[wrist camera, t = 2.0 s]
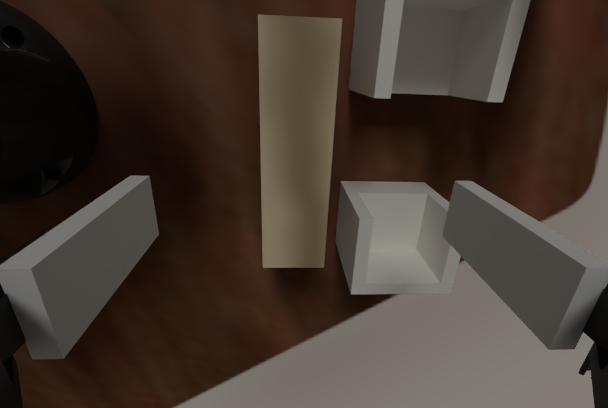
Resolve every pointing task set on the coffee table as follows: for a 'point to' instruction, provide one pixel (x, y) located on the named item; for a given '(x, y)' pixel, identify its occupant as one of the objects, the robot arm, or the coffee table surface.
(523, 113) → the coffee table surface
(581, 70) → the coffee table surface
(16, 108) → the robot arm
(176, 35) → the coffee table surface
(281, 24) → the rail
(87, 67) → the coffee table surface
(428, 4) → the bracket pair
